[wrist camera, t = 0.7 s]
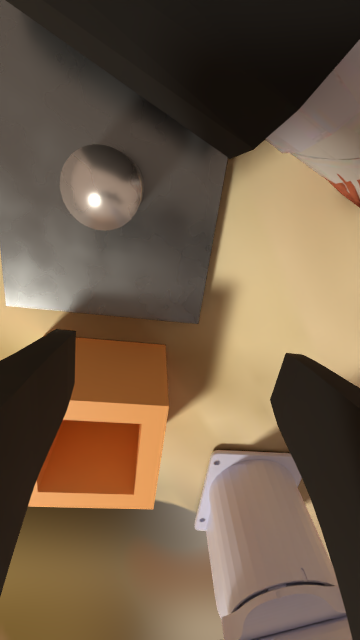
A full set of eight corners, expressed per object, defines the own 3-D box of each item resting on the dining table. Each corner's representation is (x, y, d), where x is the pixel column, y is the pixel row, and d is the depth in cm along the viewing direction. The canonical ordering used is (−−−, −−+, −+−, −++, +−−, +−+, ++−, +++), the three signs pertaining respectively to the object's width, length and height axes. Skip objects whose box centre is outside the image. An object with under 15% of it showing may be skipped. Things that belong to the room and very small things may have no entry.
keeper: (196, 316, 20) (205, 351, 16) (13, 299, 19) (-23, 332, 15) (245, 35, 14) (277, -13, 11) (-15, -19, 13) (-85, -96, 9)
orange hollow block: (153, 432, 24) (153, 509, 19) (48, 427, 23) (16, 506, 18) (165, 344, 21) (168, 406, 15) (44, 334, 20) (3, 396, 14)
